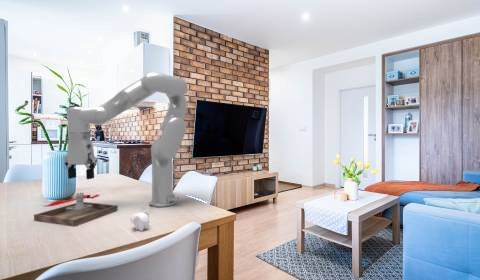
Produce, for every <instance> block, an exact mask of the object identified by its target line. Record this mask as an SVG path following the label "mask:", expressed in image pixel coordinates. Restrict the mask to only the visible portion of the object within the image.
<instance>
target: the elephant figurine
mask: <svg viewBox="0 0 480 280" xmlns="http://www.w3.org/2000/svg"><path fill="white" fill-rule="evenodd" d="M130 221H131V222H130V223H132V224H133V225H134V226H135V227H134V228H135V230H138V231H140V232H142V231H144V230H148V228H149V225H150V213H149V212H148V210H143V211H142V212H137V213H132V214H131V216H130Z"/></svg>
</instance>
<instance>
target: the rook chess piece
mask: <svg viewBox="0 0 480 280" xmlns="http://www.w3.org/2000/svg"><path fill="white" fill-rule="evenodd" d="M83 196H85V194H84V192H77V193H76V194H75V199H76V200H75V201H76V202H75V203H76V206H75V208H74V209H81V208H84V207H85V206H84V203H83V202H84V200H85V199H84V198H83Z"/></svg>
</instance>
